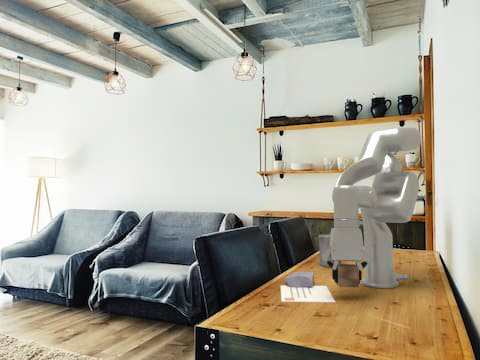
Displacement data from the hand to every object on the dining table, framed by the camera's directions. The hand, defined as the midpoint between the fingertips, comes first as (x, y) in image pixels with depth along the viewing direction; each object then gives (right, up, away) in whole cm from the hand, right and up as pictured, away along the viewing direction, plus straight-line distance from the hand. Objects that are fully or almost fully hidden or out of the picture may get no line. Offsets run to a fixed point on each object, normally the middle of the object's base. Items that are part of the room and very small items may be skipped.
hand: (346, 281), depth 116 cm
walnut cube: (0, -1, 0) cm, 1 cm away
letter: (-12, -5, +6) cm, 14 cm away
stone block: (-12, -6, +19) cm, 23 cm away
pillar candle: (+8, -7, +53) cm, 54 cm away
